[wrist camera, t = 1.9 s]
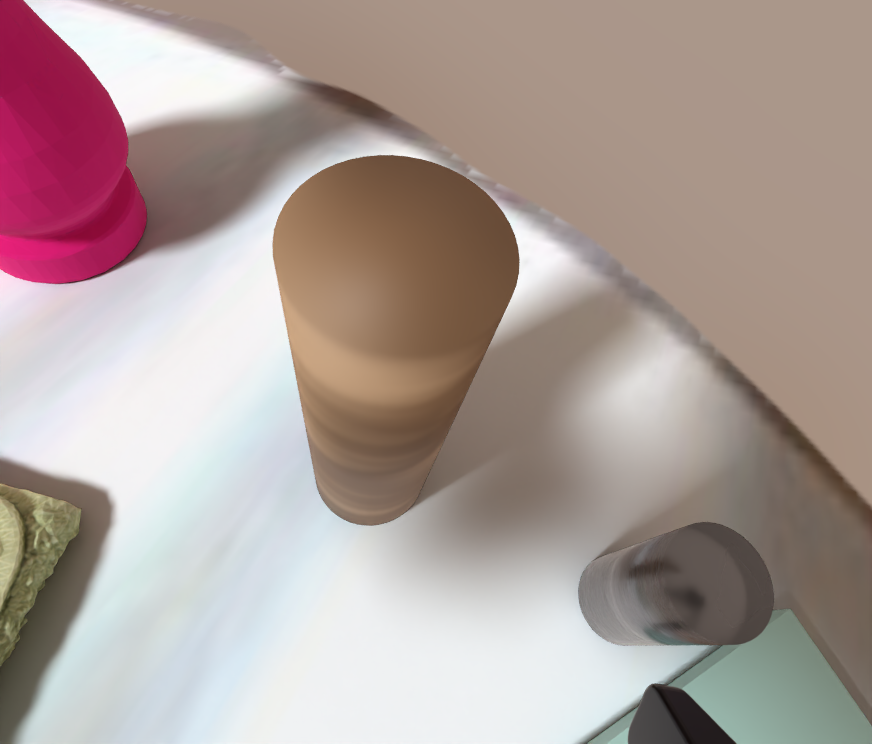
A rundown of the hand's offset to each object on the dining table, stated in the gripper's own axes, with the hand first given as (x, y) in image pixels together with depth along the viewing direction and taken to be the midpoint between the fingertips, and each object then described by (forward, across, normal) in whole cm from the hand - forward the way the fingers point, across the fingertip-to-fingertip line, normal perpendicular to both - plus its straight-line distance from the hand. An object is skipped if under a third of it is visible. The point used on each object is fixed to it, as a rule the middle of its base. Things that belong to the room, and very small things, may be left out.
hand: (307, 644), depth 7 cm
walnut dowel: (+13, 0, +4) cm, 13 cm away
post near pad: (+11, -10, +6) cm, 16 cm away
